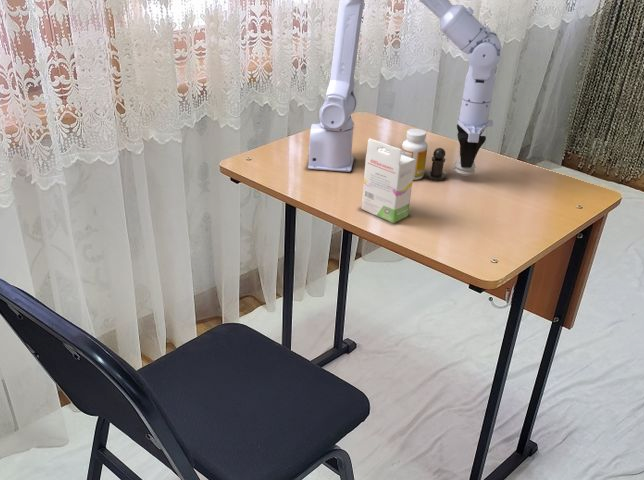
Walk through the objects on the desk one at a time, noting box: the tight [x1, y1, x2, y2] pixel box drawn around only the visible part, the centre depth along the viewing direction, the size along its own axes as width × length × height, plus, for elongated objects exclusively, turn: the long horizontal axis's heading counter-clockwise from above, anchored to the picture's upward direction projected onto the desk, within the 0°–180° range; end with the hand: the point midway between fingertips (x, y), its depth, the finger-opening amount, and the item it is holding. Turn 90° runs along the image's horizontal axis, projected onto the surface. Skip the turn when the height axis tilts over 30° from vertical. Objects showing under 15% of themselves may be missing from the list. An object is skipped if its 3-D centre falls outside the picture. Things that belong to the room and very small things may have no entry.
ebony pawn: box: [426, 147, 446, 182], centre depth 157 cm, size 4×4×7 cm
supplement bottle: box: [401, 128, 429, 181], centre depth 156 cm, size 5×5×10 cm
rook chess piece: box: [453, 154, 477, 177], centre depth 154 cm, size 4×4×8 cm
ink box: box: [361, 137, 415, 224], centre depth 141 cm, size 9×5×15 cm, turn 42°
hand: (465, 163), depth 156 cm, fingers closed on rook chess piece, 3 cm apart
